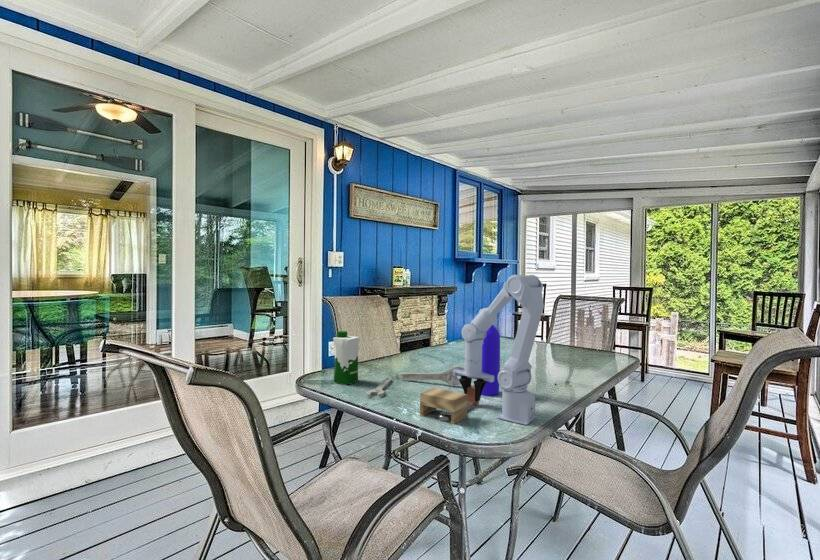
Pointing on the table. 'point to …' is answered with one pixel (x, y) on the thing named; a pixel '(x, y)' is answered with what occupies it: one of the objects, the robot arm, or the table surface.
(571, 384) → the table surface
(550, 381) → the table surface
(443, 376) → the wrench
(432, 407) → the wooden bridge block
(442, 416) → the token
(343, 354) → the milk carton
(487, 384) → the bottle
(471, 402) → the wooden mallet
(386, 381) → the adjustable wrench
